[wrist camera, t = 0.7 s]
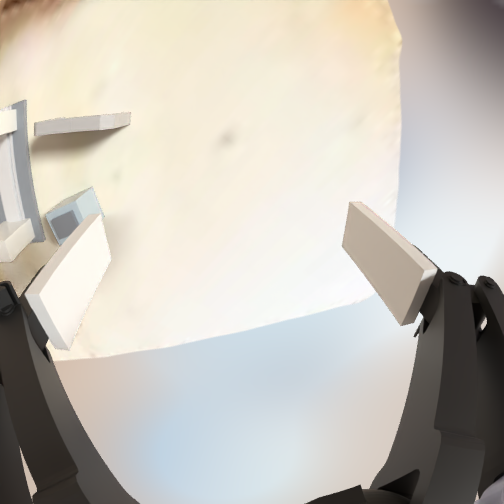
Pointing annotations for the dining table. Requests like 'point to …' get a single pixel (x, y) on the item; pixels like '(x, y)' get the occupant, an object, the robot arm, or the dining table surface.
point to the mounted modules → (20, 232)
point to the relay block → (72, 213)
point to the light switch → (81, 123)
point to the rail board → (18, 176)
